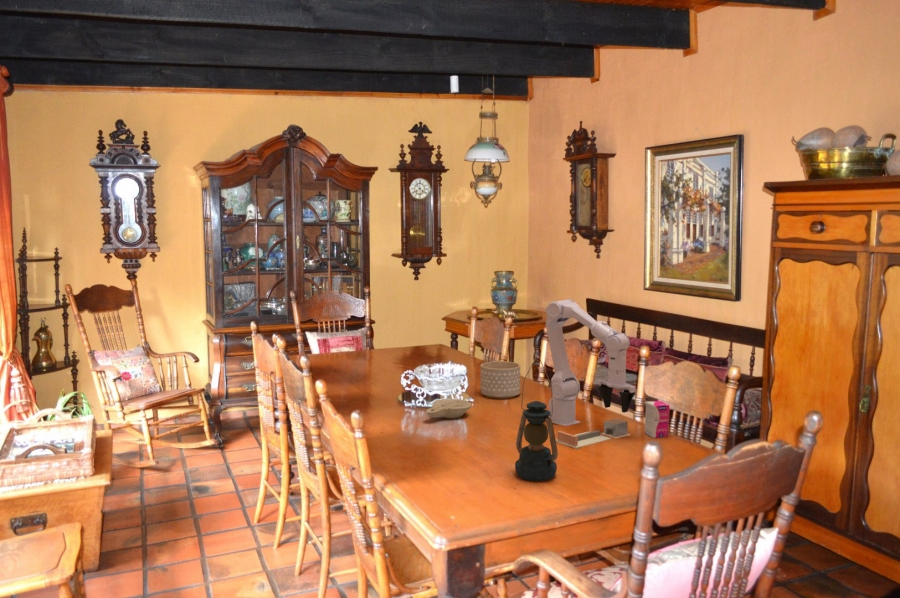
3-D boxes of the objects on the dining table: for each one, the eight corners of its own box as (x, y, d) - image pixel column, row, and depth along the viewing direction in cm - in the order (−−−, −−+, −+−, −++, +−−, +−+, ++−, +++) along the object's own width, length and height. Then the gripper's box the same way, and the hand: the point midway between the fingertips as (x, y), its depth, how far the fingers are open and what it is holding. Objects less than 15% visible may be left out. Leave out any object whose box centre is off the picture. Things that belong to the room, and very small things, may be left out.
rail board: (554, 441, 241) (554, 430, 241) (588, 433, 250) (589, 422, 250) (576, 449, 233) (576, 438, 232) (611, 440, 242) (611, 429, 242)
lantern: (503, 474, 210) (504, 354, 207) (529, 464, 219) (530, 348, 215) (542, 487, 200) (543, 360, 196) (568, 476, 209) (570, 355, 205)
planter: (476, 398, 299) (476, 367, 298) (486, 389, 315) (486, 360, 314) (515, 401, 295) (515, 370, 293) (523, 391, 310) (523, 362, 309)
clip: (603, 433, 248) (604, 421, 248) (615, 430, 251) (616, 418, 251) (615, 437, 244) (615, 424, 243) (627, 434, 247) (627, 421, 247)
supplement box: (653, 439, 243) (654, 405, 241) (644, 434, 248) (644, 401, 247) (668, 438, 244) (669, 404, 243) (659, 433, 250) (660, 400, 249)
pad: (600, 434, 249) (600, 433, 249) (614, 430, 253) (614, 429, 253) (616, 439, 243) (616, 438, 243) (630, 435, 247) (630, 434, 247)
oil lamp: (444, 427, 258) (444, 413, 258) (413, 420, 267) (413, 407, 266) (478, 414, 275) (478, 401, 274) (448, 408, 283) (448, 396, 283)
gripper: (592, 367, 249) (591, 406, 250) (625, 375, 237) (624, 416, 239) (606, 365, 253) (606, 403, 254) (640, 372, 241) (639, 412, 243)
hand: (616, 409), depth 247 cm, fingers open, 7 cm apart
